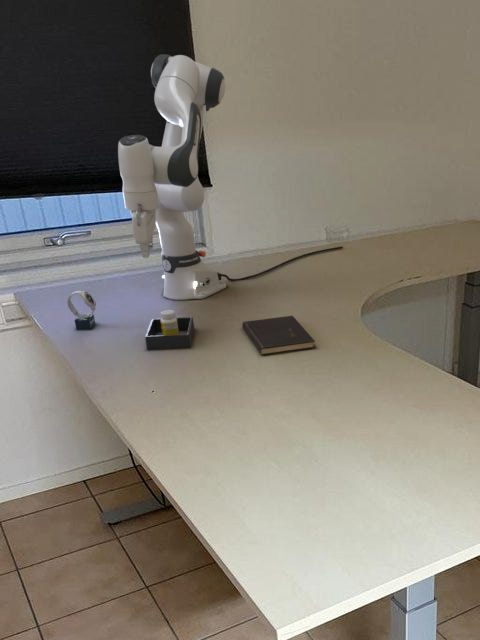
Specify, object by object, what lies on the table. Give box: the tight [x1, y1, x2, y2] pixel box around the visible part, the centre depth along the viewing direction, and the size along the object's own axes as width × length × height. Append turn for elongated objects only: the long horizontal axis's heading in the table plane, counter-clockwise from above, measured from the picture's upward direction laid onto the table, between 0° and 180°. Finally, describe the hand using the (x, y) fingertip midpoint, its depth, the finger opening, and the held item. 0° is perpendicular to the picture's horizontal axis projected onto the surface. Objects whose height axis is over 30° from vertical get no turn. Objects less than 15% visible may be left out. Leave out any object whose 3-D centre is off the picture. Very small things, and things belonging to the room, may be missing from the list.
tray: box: [144, 316, 195, 351], centre depth 220 cm, size 15×12×4 cm
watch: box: [66, 290, 97, 331], centre depth 228 cm, size 6×8×11 cm
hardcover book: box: [242, 315, 316, 357], centre depth 220 cm, size 16×23×2 cm
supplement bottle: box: [160, 309, 180, 335], centre depth 219 cm, size 5×5×8 cm
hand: (148, 253), depth 210 cm, fingers open, 8 cm apart
